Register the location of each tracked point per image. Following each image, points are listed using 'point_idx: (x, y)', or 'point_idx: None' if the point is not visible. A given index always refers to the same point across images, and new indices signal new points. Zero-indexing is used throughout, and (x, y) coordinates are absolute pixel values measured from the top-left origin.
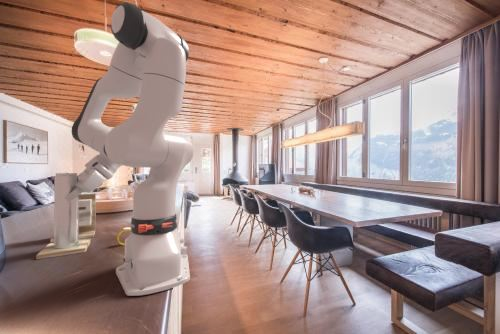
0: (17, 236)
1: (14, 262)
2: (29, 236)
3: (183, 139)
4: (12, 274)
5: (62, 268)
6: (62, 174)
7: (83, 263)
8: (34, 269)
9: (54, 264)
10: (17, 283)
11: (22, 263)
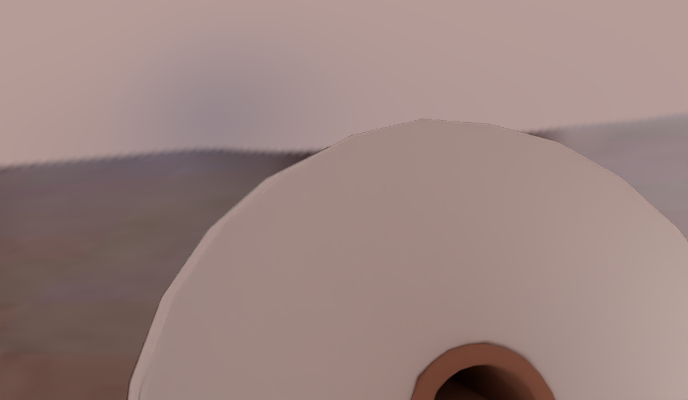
0: (660, 140)
1: (281, 162)
2: (636, 176)
3: None
4: (150, 168)
5: (74, 297)
6: (185, 299)
7: (65, 366)
8: (146, 219)
9: (147, 272)
10: (47, 187)
11: (248, 183)
